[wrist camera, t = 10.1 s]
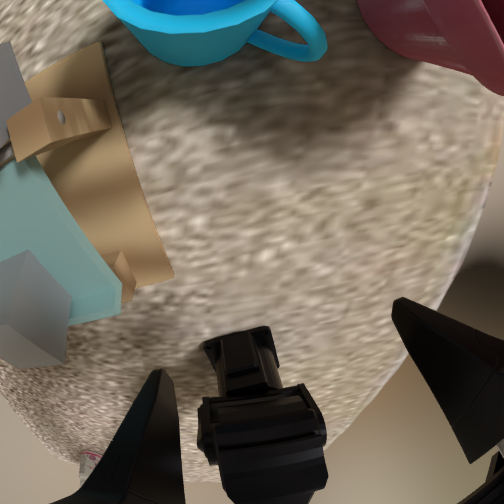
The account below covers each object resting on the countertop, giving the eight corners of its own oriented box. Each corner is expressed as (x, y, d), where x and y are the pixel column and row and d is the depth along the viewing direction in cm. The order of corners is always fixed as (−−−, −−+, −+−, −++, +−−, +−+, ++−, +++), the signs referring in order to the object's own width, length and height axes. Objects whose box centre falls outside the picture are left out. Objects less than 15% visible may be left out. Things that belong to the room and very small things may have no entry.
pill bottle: (108, 457, 38) (106, 493, 30) (98, 460, 38) (96, 494, 31) (87, 448, 35) (83, 485, 28) (78, 451, 36) (74, 486, 29)
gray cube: (72, 296, 16) (65, 364, 13) (27, 309, 16) (18, 368, 13) (28, 249, 12) (6, 323, 9) (-14, 269, 12) (-34, 333, 9)
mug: (114, 44, 13) (64, 10, 6) (177, -41, 10) (170, -104, 3) (270, 112, 17) (316, 113, 10) (324, 26, 15) (389, -6, 8)
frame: (174, 273, 22) (166, 361, 14) (22, 315, 21) (-13, 380, 13) (102, 42, 13) (38, 5, 5) (-50, 150, 12) (-114, 181, 4)
